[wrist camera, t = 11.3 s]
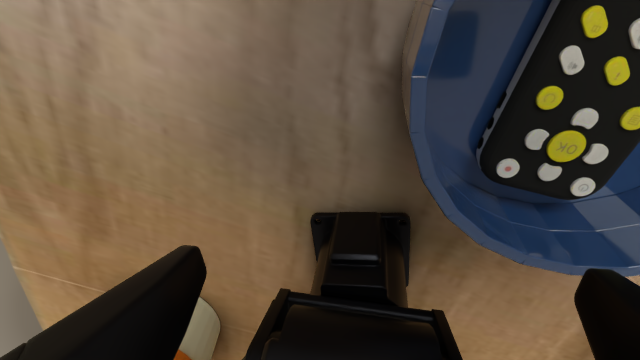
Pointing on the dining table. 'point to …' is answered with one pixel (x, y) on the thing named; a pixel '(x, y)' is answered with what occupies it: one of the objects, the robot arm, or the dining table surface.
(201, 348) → the reusable coffee cup
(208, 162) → the dining table surface
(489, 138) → the remote control
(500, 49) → the pot
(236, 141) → the dining table surface
